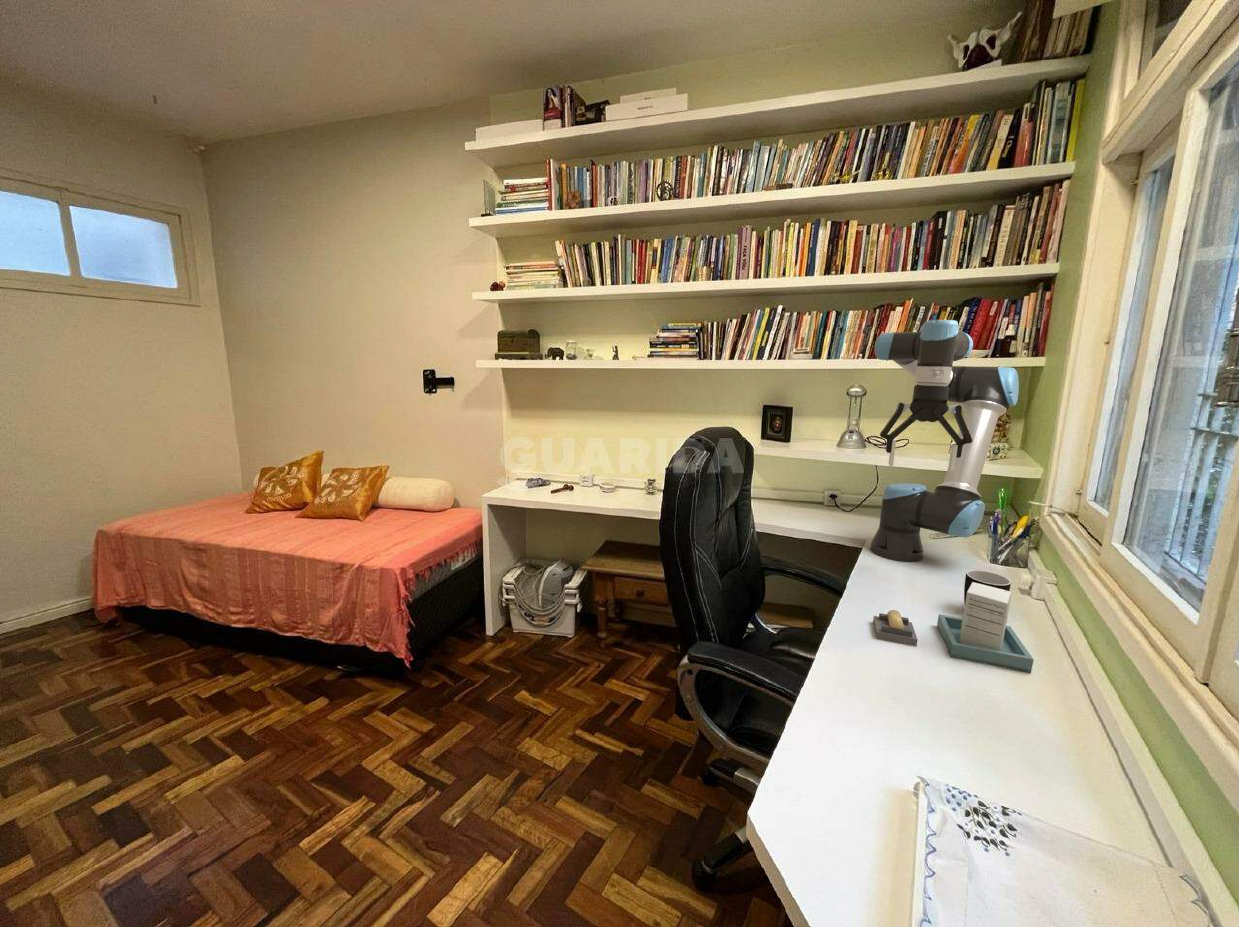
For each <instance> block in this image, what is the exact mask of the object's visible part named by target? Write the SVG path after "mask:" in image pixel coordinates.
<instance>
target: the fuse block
mask: <svg viewBox="0 0 1239 927" xmlns="http://www.w3.org/2000/svg"><path fill="white" fill-rule="evenodd" d="M872 623H873V629H874V634H875V639H877V640H883V641H887V642H893V643H900V644H903V645H909V646H915V647H917V644H918V640H919V639H918V636H917V634H916V631H915V628H914V625H913V622H911V621H910V620H909V617H904V616H901V613H900V612H899V610H895V609H890V610H889V611H888V612H887V613H881V612H879V613H878V615H873V620H872Z"/></svg>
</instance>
